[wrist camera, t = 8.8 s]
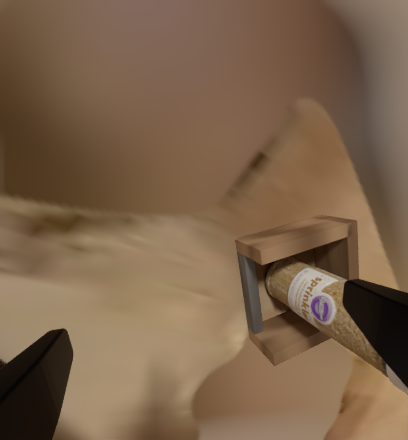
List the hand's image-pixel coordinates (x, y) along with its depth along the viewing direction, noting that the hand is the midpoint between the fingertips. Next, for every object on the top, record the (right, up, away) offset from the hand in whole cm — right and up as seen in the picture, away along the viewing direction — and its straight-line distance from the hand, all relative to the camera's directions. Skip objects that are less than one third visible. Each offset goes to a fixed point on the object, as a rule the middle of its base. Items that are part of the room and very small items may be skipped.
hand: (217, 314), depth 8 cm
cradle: (+8, -3, +17) cm, 19 cm away
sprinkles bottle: (+7, -3, +17) cm, 19 cm away
